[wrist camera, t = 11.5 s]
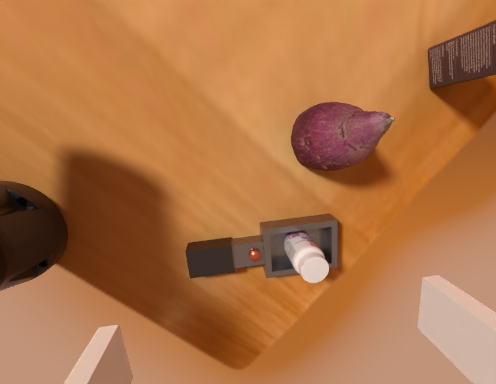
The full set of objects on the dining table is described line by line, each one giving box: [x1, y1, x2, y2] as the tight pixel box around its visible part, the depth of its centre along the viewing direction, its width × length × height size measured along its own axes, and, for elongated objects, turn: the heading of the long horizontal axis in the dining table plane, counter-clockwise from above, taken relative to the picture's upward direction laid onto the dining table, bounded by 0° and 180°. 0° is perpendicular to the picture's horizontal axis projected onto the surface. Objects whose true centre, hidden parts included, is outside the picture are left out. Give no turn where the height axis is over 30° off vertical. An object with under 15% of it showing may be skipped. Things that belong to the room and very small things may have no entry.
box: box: [428, 20, 496, 89], centre depth 31 cm, size 6×4×12 cm
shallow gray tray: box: [186, 214, 338, 278], centre depth 40 cm, size 24×8×3 cm, turn 95°
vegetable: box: [291, 102, 395, 171], centre depth 32 cm, size 10×10×15 cm
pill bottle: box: [284, 231, 329, 283], centre depth 37 cm, size 5×5×8 cm
